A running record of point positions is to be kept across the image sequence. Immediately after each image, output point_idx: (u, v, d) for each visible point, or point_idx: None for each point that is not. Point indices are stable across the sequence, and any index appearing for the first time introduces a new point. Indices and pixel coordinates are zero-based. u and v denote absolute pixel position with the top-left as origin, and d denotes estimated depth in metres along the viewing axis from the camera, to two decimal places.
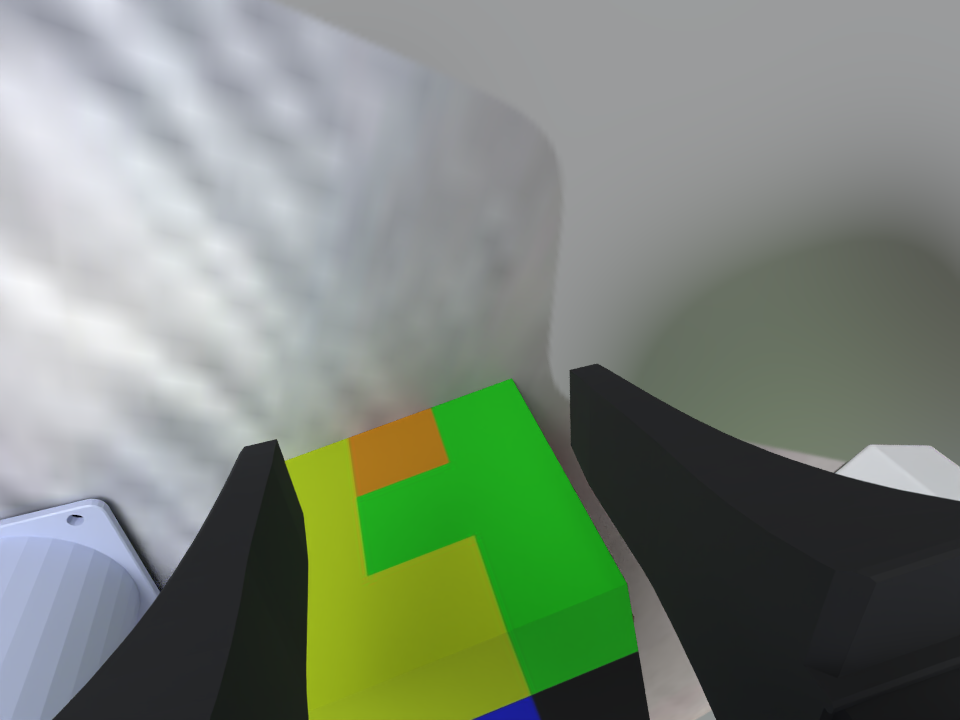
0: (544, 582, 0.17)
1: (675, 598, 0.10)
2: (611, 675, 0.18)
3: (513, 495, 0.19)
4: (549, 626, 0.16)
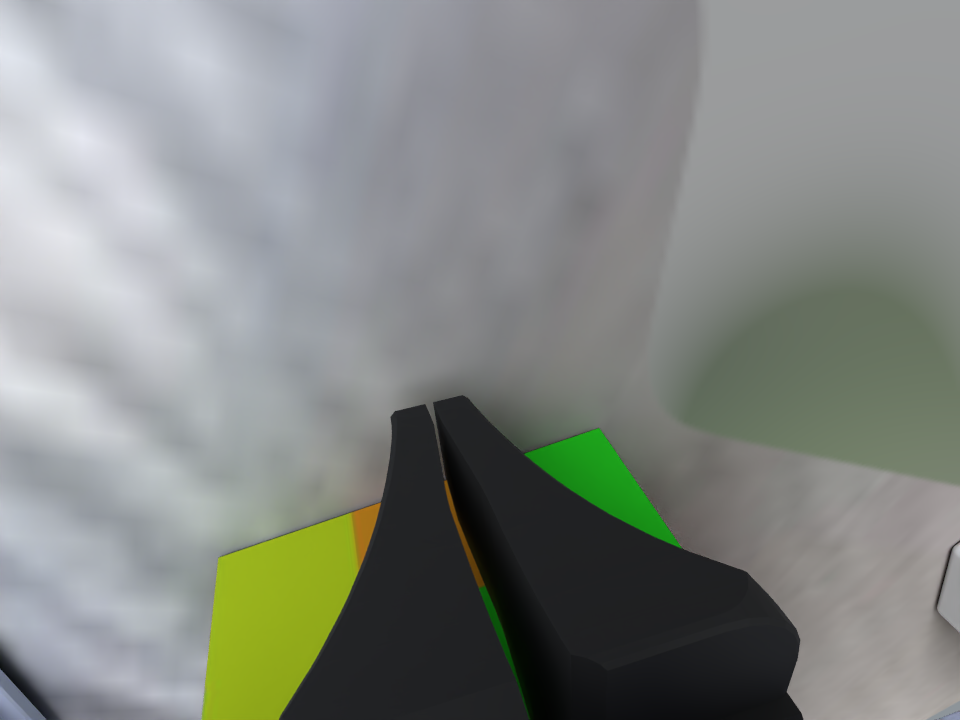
0: None
1: (513, 648, 0.10)
2: None
3: None
4: None
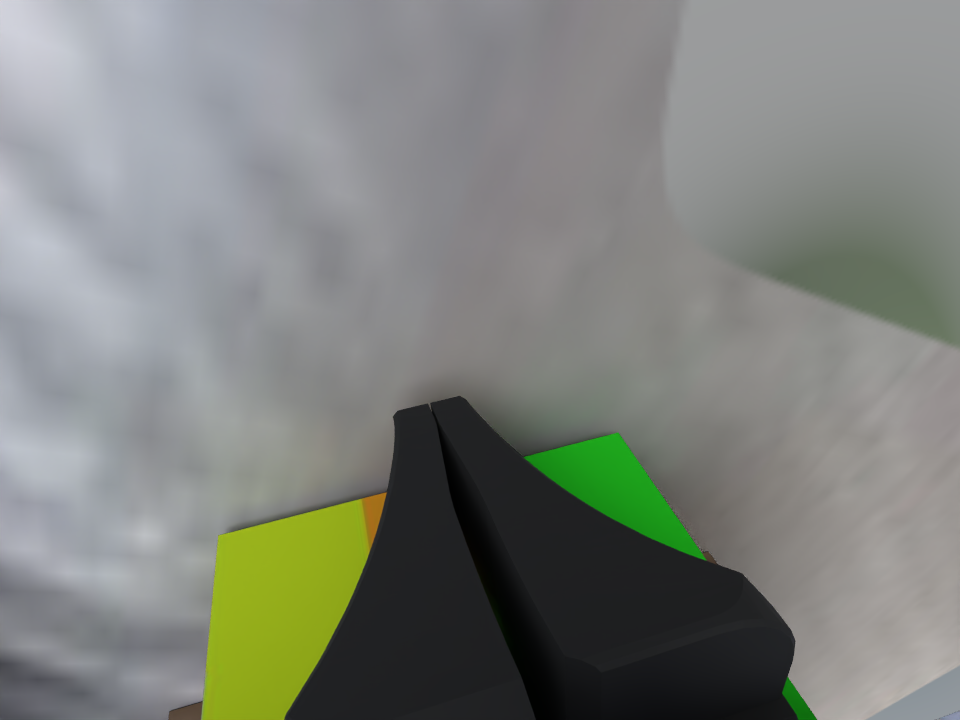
0: None
1: (510, 649, 0.10)
2: None
3: None
4: None
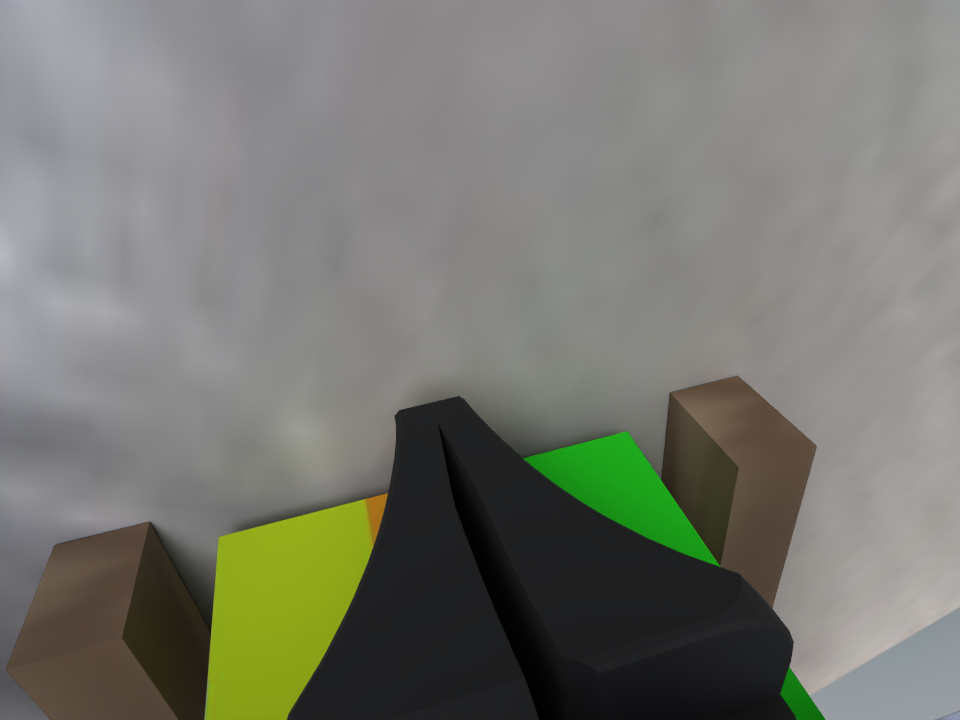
0: None
1: None
2: None
3: None
4: None
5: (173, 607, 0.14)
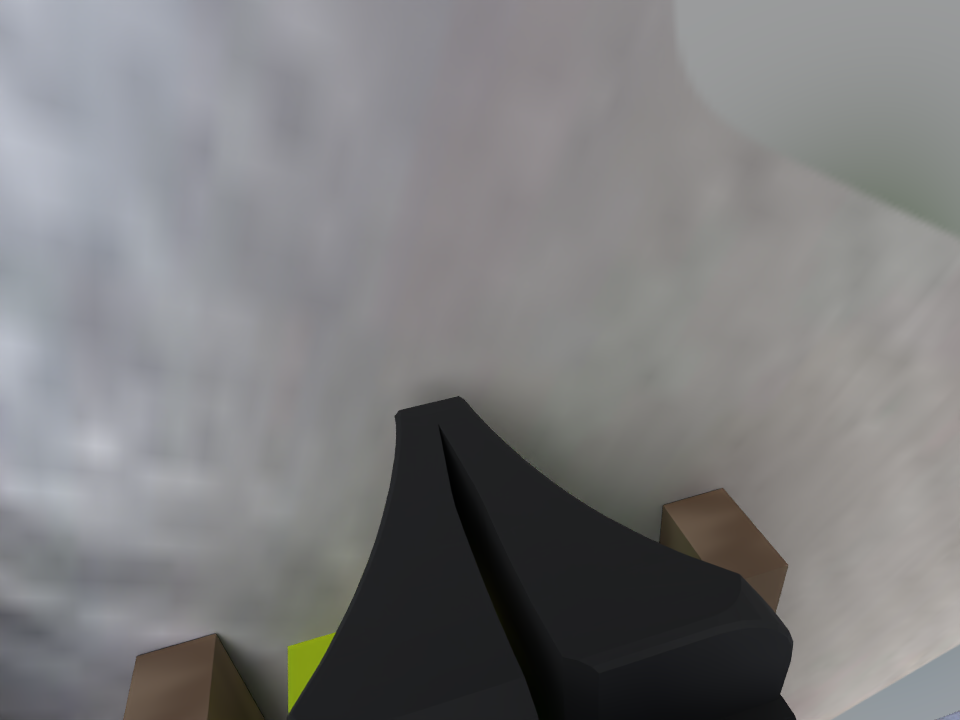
0: None
1: None
2: None
3: None
4: None
5: (236, 705, 0.17)
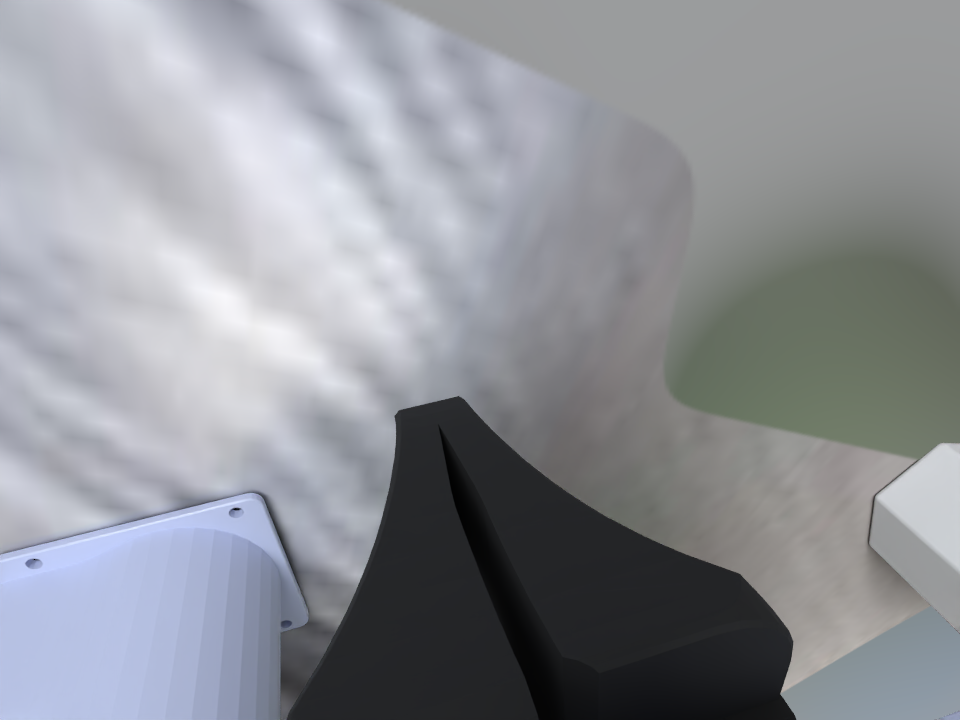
0: None
1: None
2: None
3: None
4: None
5: None
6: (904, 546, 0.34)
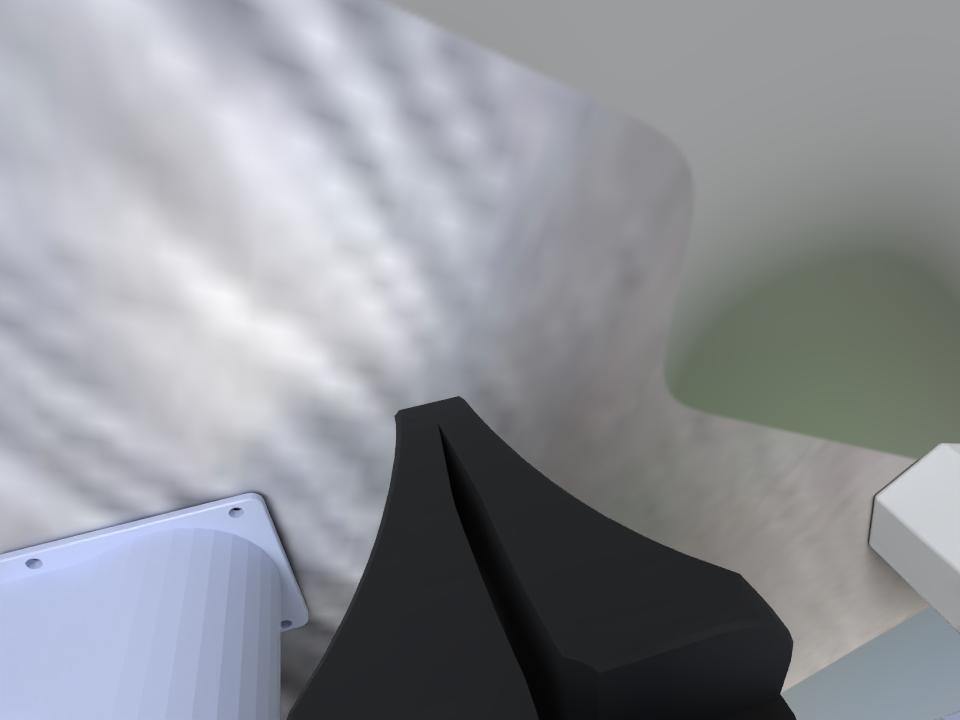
0: None
1: None
2: None
3: None
4: None
5: None
6: (904, 546, 0.34)
